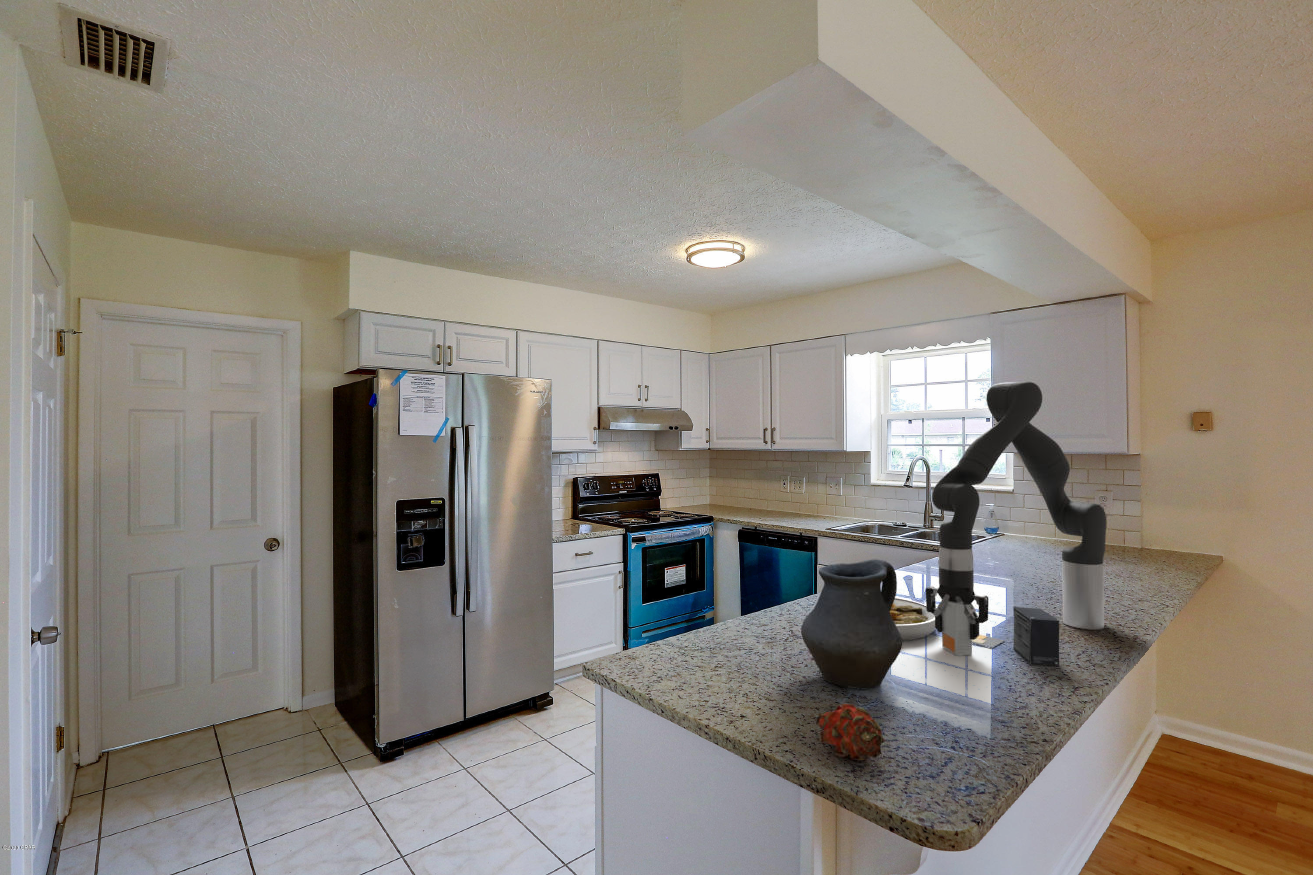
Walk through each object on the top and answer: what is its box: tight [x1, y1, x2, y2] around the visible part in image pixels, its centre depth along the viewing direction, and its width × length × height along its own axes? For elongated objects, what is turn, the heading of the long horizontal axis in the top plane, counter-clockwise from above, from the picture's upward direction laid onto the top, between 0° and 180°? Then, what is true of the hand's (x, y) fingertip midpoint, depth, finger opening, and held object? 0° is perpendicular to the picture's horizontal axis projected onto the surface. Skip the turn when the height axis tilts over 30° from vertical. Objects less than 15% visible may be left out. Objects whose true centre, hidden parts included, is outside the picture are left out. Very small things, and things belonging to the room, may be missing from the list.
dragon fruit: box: [815, 702, 886, 762], centre depth 99 cm, size 8×8×12 cm
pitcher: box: [800, 558, 904, 690], centre depth 130 cm, size 21×22×25 cm
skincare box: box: [941, 601, 973, 656], centre depth 147 cm, size 6×4×12 cm
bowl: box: [890, 597, 936, 641], centre depth 167 cm, size 30×30×8 cm
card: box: [972, 634, 1006, 649], centre depth 155 cm, size 8×10×1 cm
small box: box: [1012, 606, 1060, 667], centre depth 142 cm, size 11×6×10 cm, turn 168°
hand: (956, 634), depth 147 cm, fingers closed on skincare box, 7 cm apart
